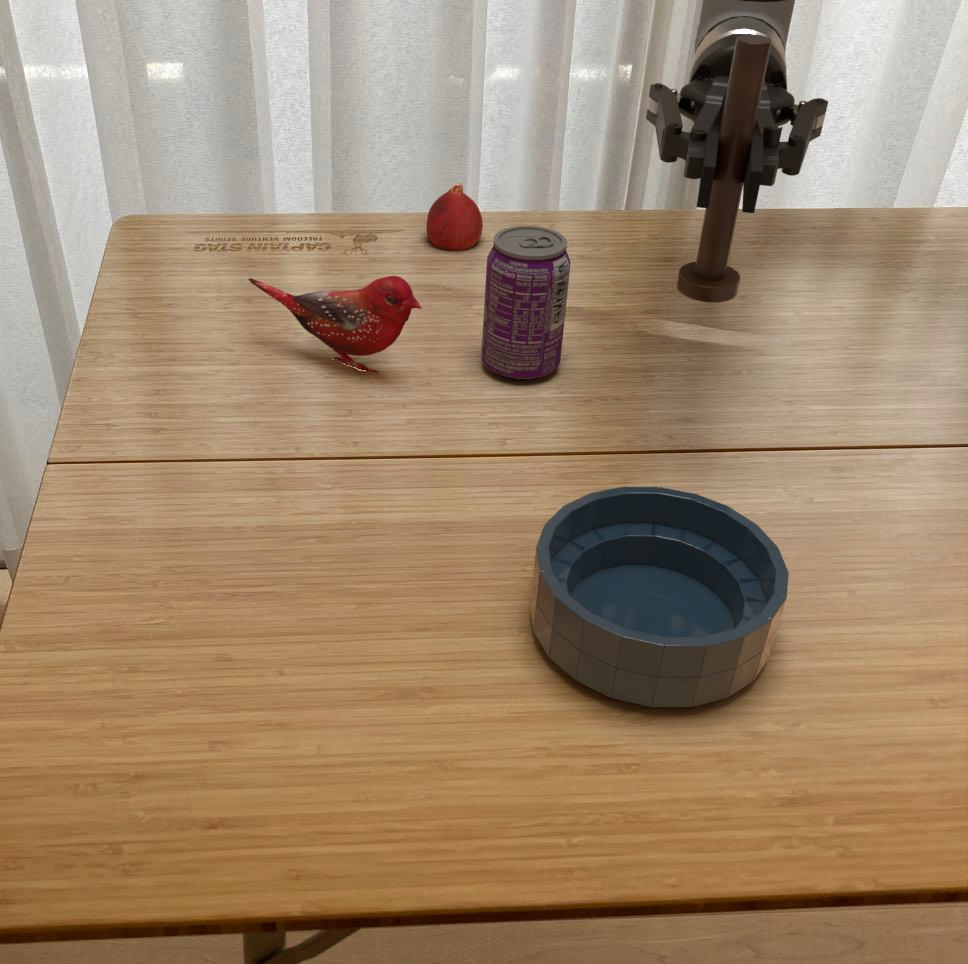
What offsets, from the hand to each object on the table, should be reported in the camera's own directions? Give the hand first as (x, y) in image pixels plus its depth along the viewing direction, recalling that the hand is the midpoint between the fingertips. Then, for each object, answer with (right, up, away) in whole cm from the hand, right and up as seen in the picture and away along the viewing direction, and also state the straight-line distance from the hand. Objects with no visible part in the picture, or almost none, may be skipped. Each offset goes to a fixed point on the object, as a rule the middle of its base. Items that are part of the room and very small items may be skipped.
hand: (729, 189), depth 71 cm
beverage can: (-11, -7, +30) cm, 32 cm away
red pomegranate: (-17, +8, +47) cm, 51 cm away
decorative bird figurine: (-28, -7, +29) cm, 41 cm away
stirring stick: (+1, -4, +10) cm, 11 cm away
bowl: (-5, -28, +3) cm, 29 cm away
